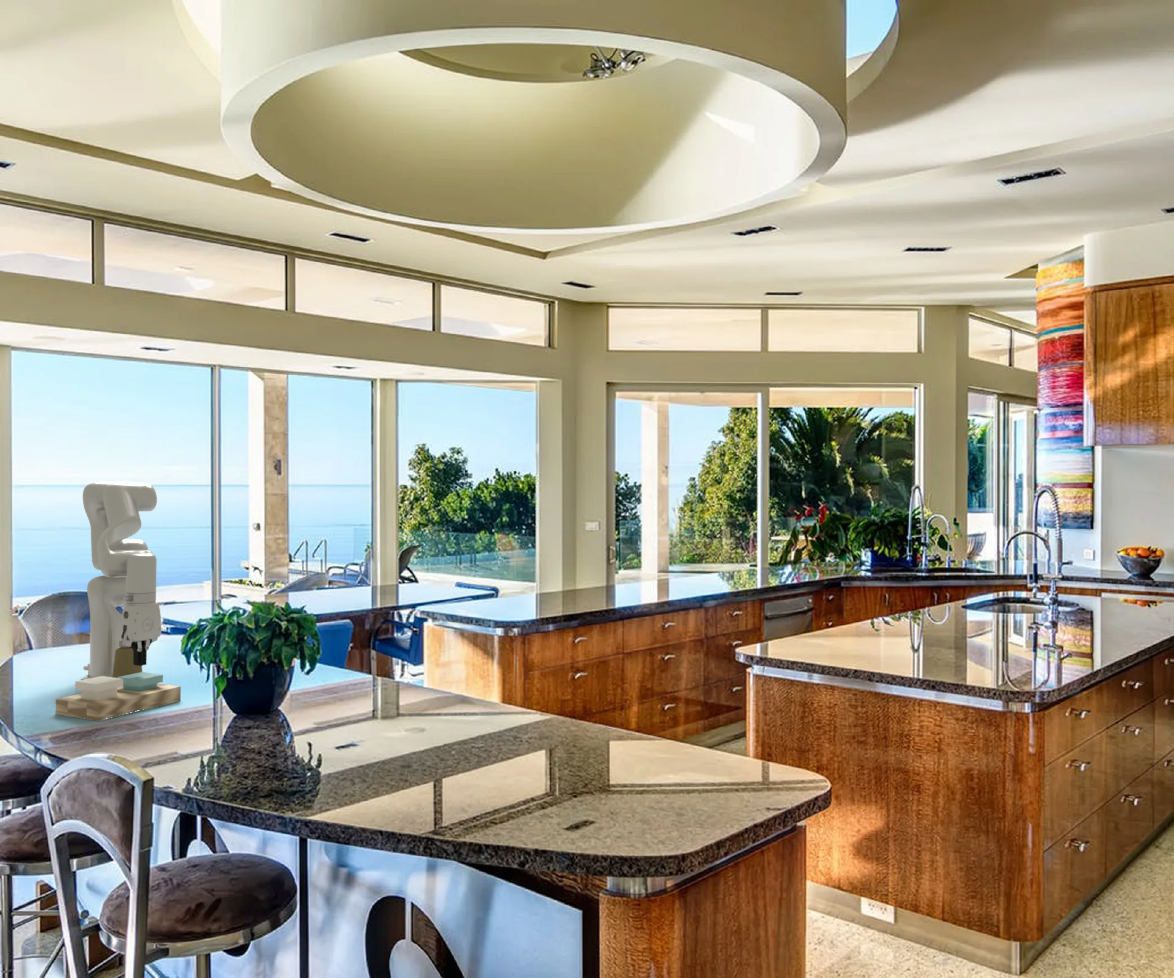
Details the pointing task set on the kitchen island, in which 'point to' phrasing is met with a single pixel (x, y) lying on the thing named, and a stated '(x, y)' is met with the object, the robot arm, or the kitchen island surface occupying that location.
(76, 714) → the light wood flat block
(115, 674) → the squeeze bottle
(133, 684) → the teal key
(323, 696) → the kitchen island surface
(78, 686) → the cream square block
